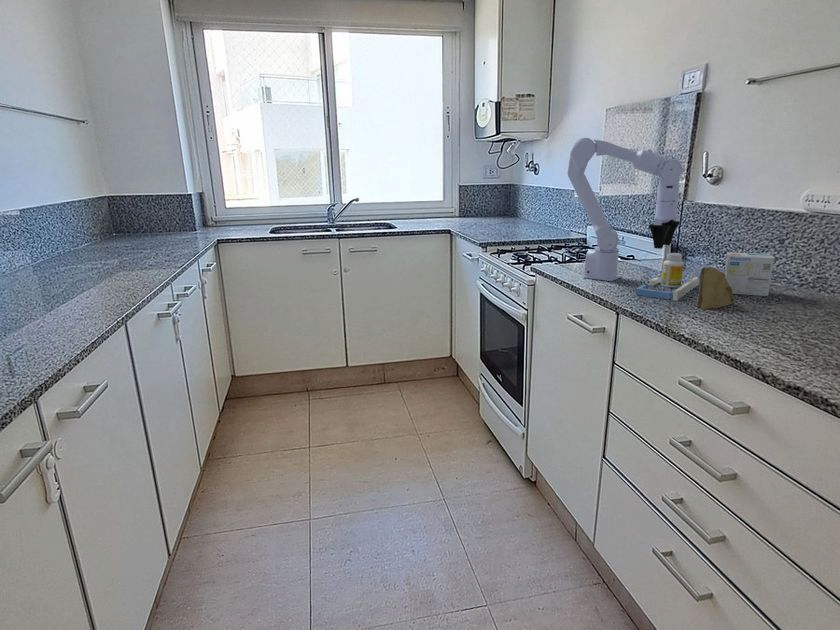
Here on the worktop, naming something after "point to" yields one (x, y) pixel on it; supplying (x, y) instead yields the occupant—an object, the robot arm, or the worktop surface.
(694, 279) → the channel
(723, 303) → the rock
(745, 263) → the light bulb box
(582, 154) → the robot arm
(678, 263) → the supplement bottle
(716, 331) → the worktop surface
